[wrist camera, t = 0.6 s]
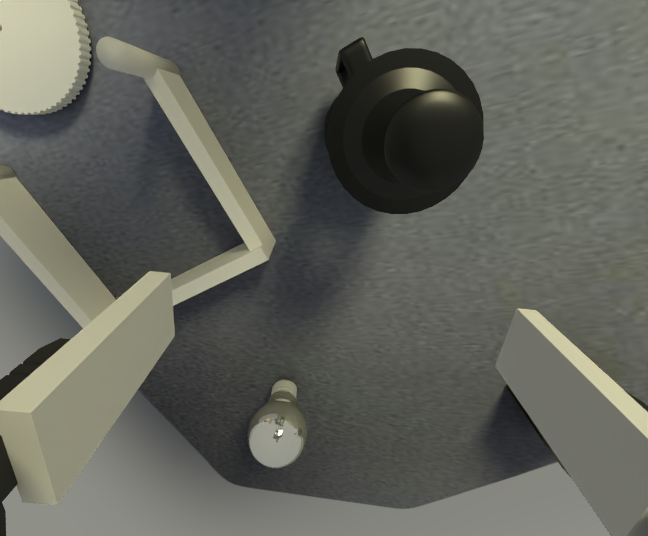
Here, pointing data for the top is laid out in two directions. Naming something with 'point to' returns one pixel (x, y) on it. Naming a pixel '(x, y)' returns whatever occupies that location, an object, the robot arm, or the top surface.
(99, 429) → the robot arm
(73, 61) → the plastic lid
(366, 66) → the french press
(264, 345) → the top surface
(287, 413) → the light bulb
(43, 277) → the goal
